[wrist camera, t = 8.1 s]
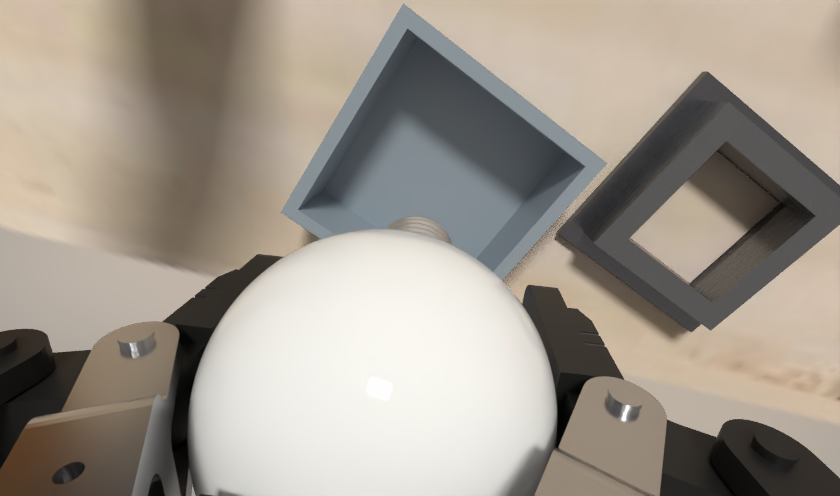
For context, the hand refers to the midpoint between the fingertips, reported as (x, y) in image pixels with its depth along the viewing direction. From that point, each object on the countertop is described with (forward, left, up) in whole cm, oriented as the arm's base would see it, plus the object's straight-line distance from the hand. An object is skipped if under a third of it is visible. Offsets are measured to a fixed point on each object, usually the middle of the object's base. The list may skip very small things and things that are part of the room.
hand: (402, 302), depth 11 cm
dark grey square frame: (+16, +8, -19) cm, 26 cm away
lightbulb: (0, 0, -4) cm, 4 cm away
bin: (0, 0, -19) cm, 19 cm away
